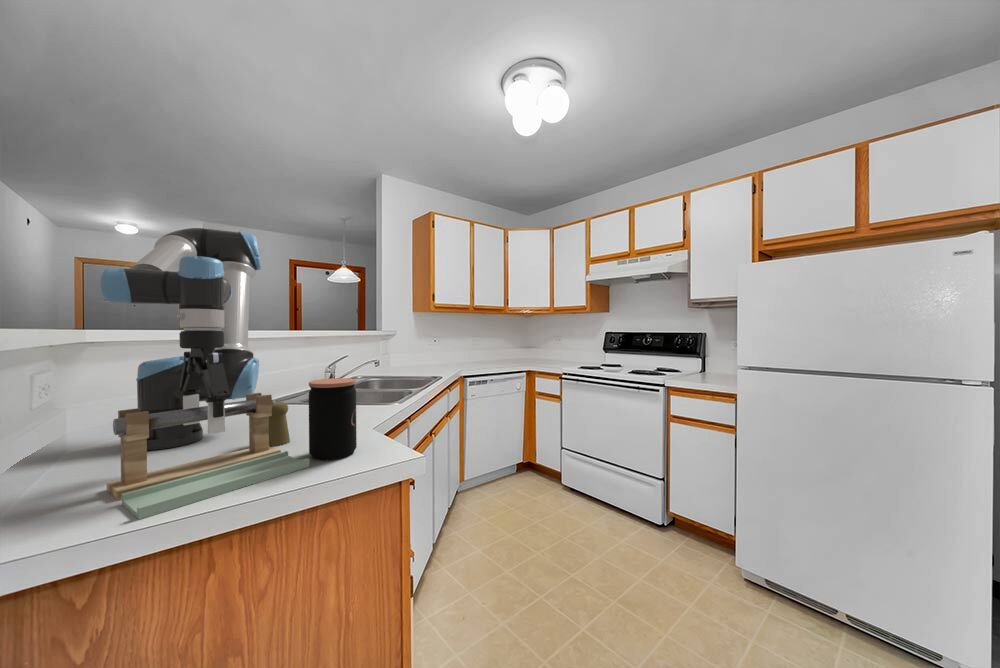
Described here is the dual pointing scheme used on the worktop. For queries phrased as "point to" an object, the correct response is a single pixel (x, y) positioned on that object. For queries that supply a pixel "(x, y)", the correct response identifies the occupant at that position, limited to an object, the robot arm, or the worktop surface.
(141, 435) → the rail rack
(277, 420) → the olive green shaker
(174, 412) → the rail
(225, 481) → the tray
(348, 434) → the coffee jar
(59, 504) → the worktop surface
